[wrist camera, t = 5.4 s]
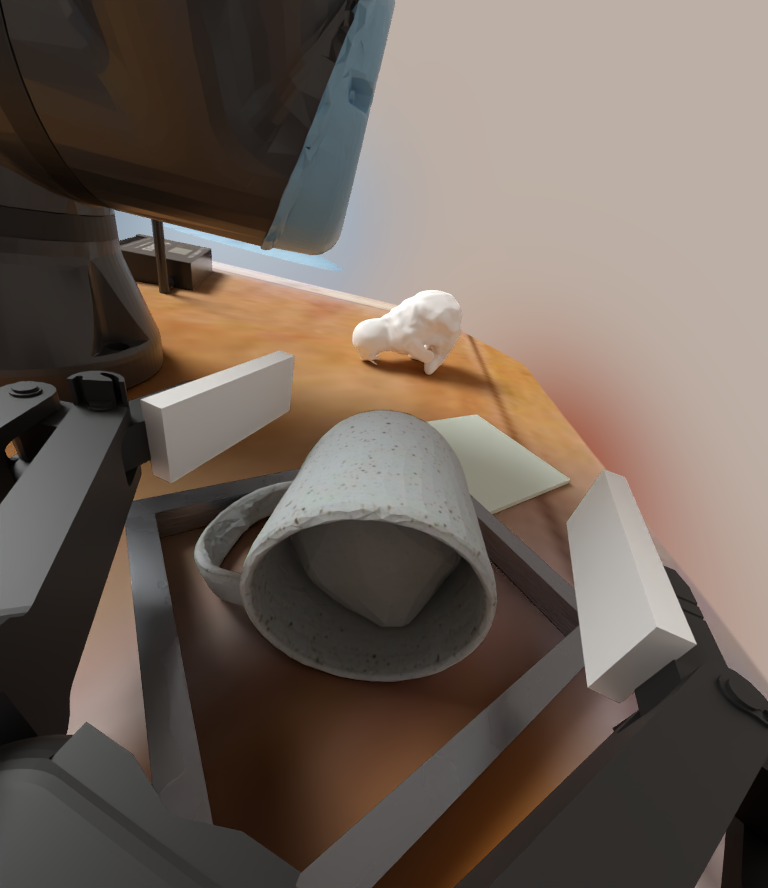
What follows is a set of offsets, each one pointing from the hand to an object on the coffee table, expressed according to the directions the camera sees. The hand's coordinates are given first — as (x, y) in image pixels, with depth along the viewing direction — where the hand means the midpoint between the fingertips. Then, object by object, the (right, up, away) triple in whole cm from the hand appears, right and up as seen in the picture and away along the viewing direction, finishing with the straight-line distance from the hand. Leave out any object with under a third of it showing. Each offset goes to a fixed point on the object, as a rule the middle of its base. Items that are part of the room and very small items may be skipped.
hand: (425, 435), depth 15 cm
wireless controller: (-34, +24, +37) cm, 56 cm away
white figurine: (0, +9, +27) cm, 28 cm away
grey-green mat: (+6, -1, +13) cm, 14 cm away
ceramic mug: (-4, -7, +1) cm, 8 cm away
